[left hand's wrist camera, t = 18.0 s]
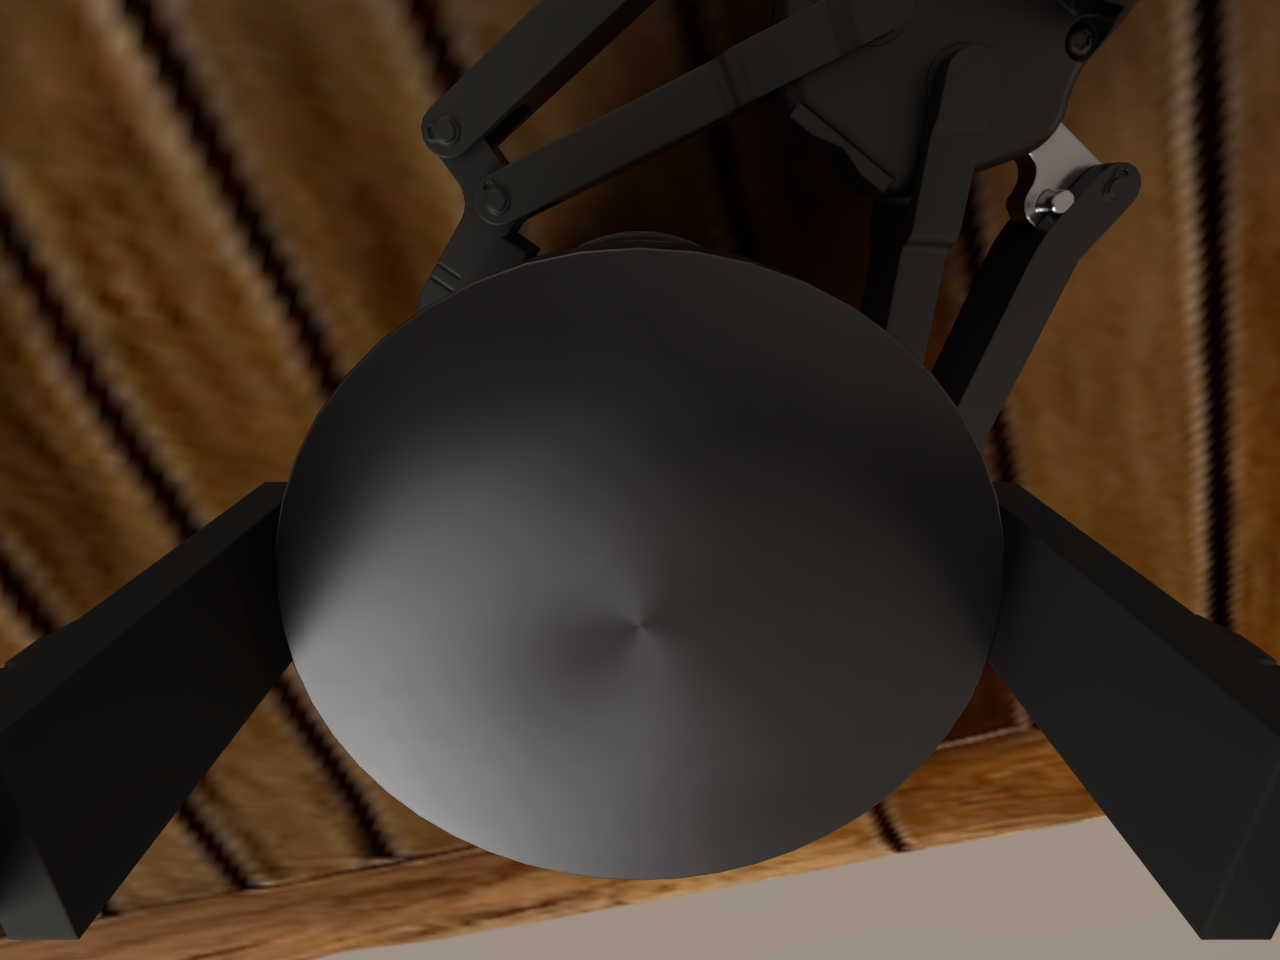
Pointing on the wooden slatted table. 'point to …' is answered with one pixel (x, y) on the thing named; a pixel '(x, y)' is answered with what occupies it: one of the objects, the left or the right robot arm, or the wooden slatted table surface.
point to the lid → (639, 562)
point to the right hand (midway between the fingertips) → (566, 523)
